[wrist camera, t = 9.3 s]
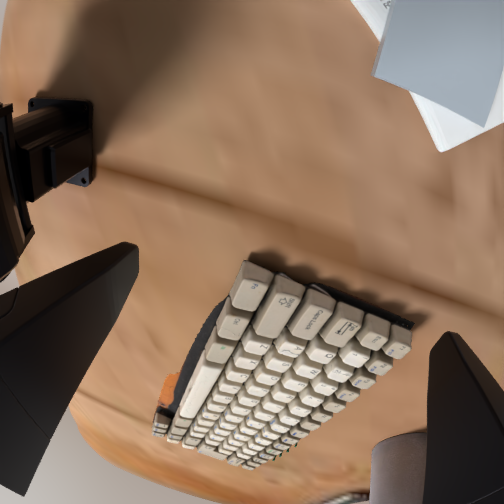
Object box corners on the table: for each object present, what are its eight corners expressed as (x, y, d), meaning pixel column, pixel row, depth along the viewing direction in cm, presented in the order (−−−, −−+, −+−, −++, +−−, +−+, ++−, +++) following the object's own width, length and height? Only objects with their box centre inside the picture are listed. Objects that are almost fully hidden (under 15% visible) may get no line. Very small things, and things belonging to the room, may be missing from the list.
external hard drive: (433, 146, 17) (320, -32, 12) (526, 100, 13) (429, -73, 8) (441, 154, 15) (320, -40, 11) (540, 104, 12) (437, -81, 7)
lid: (370, 75, 14) (374, 76, 13) (408, -75, 8) (413, -82, 7) (475, 123, 14) (484, 128, 13) (510, -19, 8) (520, -22, 7)
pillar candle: (445, 443, 34) (450, 534, 22) (389, 462, 39) (385, 547, 27) (420, 424, 32) (424, 534, 20) (357, 447, 37) (349, 545, 25)
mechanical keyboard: (207, 228, 23) (191, 254, 20) (428, 318, 24) (436, 349, 21) (153, 420, 45) (146, 437, 42) (265, 457, 45) (261, 475, 43)
